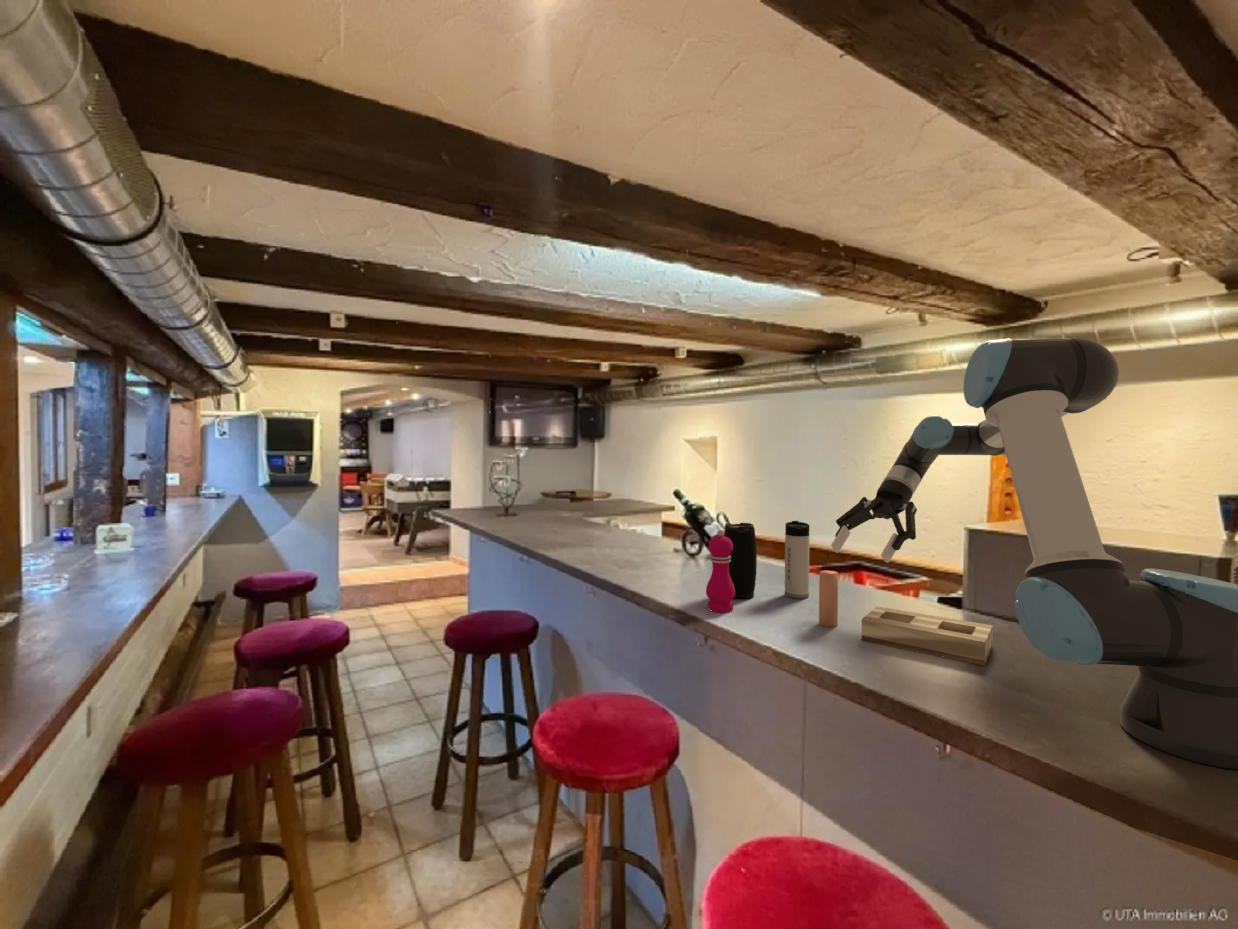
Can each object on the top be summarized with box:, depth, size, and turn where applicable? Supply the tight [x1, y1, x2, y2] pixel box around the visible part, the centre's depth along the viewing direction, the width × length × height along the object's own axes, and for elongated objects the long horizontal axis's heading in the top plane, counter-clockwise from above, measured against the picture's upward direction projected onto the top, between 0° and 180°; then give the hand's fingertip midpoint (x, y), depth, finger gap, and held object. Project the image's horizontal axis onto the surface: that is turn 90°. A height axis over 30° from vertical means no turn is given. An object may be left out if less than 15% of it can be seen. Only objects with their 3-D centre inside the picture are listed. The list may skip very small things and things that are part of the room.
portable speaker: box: [724, 522, 758, 600], centre depth 154 cm, size 9×9×20 cm
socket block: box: [860, 605, 994, 666], centre depth 118 cm, size 12×22×4 cm, turn 51°
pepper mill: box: [705, 529, 735, 613], centre depth 142 cm, size 7×7×20 cm
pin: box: [818, 570, 839, 628], centre depth 130 cm, size 4×4×12 cm
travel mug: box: [784, 520, 810, 600], centre depth 154 cm, size 6×7×20 cm
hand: (858, 554), depth 135 cm, fingers open, 13 cm apart
